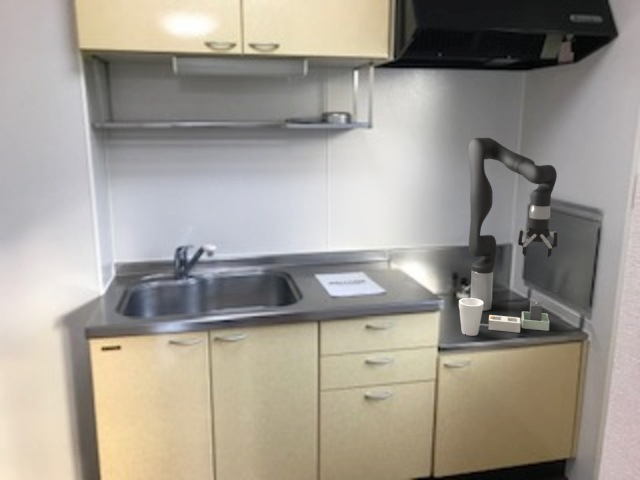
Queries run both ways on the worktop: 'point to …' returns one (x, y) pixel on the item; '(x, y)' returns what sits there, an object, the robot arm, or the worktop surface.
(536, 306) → the block
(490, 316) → the power strip
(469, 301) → the foam cup
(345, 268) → the worktop surface
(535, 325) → the tray
